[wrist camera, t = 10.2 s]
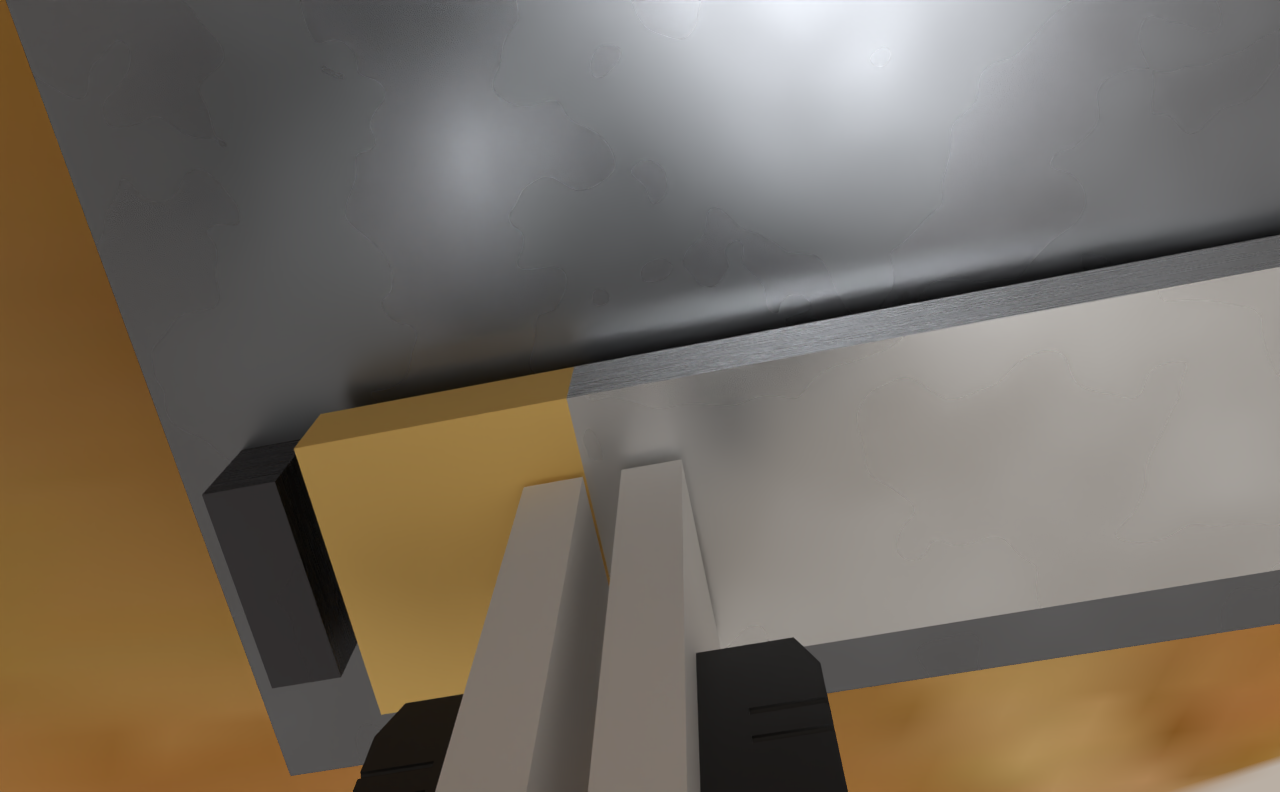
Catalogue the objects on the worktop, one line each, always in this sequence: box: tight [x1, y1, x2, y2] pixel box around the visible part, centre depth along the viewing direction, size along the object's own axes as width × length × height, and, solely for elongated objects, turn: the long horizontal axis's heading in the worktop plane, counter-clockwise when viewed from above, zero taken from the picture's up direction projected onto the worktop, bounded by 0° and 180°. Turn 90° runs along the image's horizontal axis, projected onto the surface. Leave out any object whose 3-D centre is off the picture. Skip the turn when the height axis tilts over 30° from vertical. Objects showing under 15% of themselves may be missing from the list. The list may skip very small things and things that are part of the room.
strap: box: [294, 235, 1280, 715], centre depth 15 cm, size 17×4×2 cm, turn 102°
